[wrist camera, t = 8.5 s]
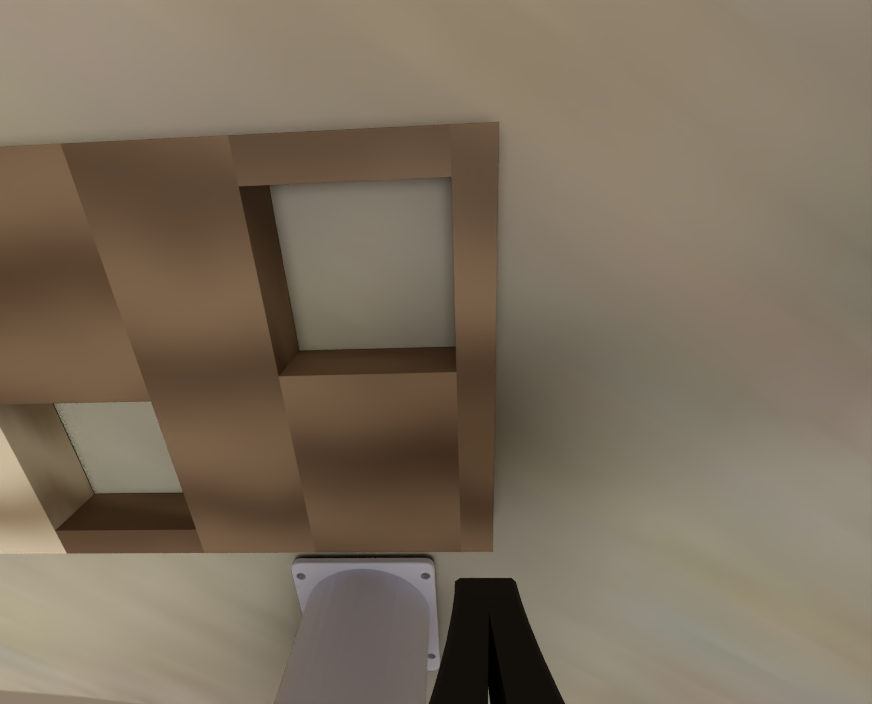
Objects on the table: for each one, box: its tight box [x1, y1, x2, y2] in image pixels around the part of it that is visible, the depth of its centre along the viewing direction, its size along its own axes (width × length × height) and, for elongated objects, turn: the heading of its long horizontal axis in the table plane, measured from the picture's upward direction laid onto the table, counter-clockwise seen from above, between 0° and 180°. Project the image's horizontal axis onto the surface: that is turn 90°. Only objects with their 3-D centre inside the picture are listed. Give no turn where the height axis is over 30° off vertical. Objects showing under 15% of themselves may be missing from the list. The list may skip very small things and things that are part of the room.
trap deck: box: [0, 122, 499, 554], centre depth 18 cm, size 18×27×4 cm, turn 92°
